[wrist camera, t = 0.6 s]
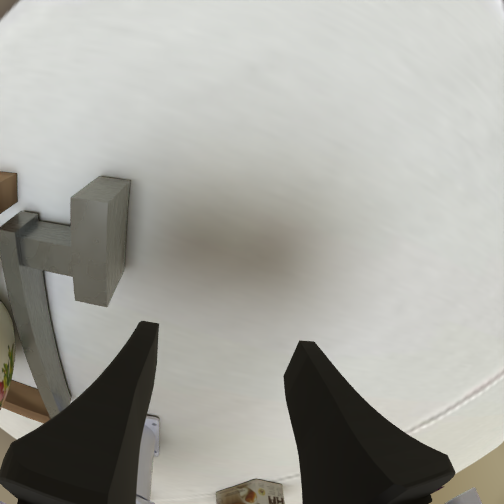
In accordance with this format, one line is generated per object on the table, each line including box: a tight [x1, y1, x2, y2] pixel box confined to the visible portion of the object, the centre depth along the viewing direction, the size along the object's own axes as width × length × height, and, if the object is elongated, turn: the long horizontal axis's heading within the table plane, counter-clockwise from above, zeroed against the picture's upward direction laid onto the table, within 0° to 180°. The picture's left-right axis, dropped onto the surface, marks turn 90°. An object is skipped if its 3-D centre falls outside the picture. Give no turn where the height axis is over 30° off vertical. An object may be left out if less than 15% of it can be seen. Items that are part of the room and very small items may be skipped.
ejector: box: [0, 176, 130, 418], centre depth 19 cm, size 23×8×4 cm, turn 167°
